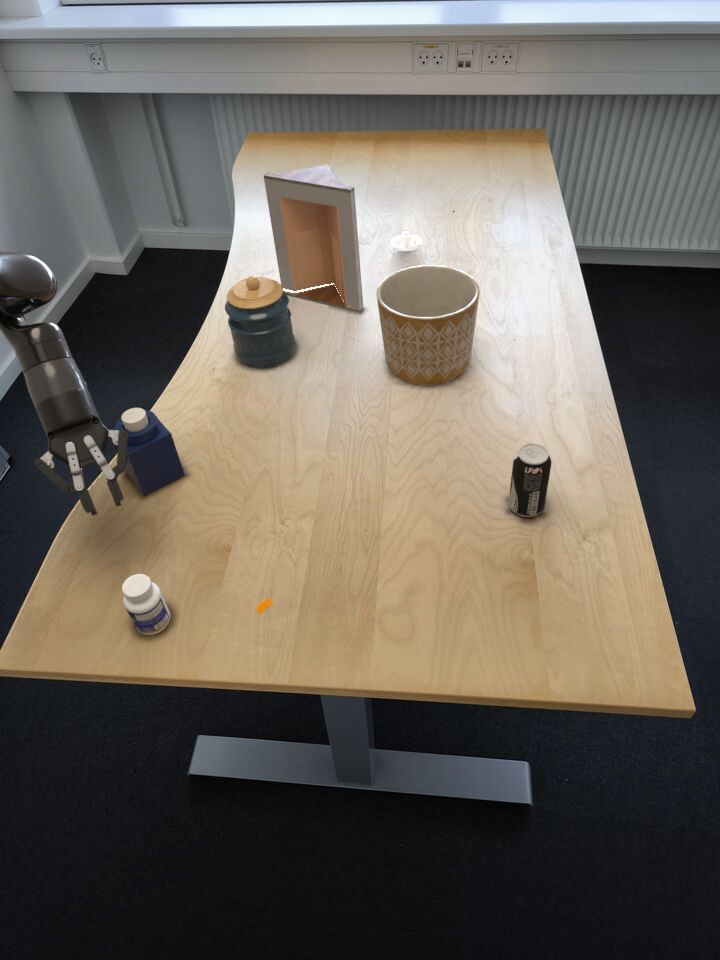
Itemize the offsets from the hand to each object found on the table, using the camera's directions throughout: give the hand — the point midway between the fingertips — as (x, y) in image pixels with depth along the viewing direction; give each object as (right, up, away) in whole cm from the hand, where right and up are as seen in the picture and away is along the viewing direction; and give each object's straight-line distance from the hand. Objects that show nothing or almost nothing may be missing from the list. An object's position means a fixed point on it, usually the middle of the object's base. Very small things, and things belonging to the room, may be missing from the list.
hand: (106, 509), depth 104 cm
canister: (+16, +31, +52) cm, 63 cm away
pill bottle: (+5, -17, +4) cm, 18 cm away
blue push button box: (-1, +5, +27) cm, 27 cm away
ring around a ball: (+48, +62, +79) cm, 111 cm away
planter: (+50, +28, +45) cm, 73 cm away
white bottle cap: (-1, +14, +19) cm, 23 cm away
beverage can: (+63, 0, +15) cm, 65 cm away
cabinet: (+29, +48, +67) cm, 87 cm away
